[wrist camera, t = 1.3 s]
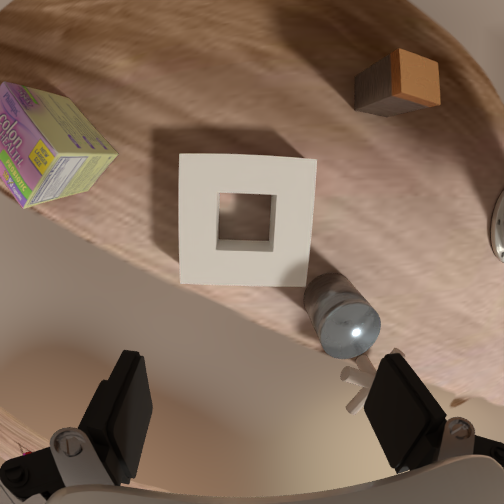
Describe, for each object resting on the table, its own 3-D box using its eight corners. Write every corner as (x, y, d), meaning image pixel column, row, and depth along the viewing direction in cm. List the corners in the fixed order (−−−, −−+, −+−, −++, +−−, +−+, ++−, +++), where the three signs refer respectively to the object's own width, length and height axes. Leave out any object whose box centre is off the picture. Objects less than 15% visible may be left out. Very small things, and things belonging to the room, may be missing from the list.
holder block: (306, 159, 29) (316, 159, 25) (297, 272, 32) (305, 286, 28) (187, 155, 28) (179, 153, 24) (186, 269, 31) (180, 283, 28)
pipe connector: (312, 377, 37) (330, 431, 27) (356, 318, 34) (389, 367, 25) (365, 392, 38) (388, 440, 29) (406, 341, 36) (441, 384, 26)
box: (40, 134, 26) (-28, 133, 15) (68, 97, 25) (3, 78, 14) (87, 193, 28) (22, 212, 17) (120, 154, 28) (59, 153, 16)
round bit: (356, 272, 33) (386, 303, 25) (348, 318, 34) (372, 356, 27) (306, 272, 32) (326, 305, 25) (300, 320, 34) (316, 360, 26)
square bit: (386, 84, 26) (437, 62, 17) (387, 117, 28) (440, 104, 18) (354, 76, 26) (398, 48, 17) (354, 110, 27) (401, 92, 18)
